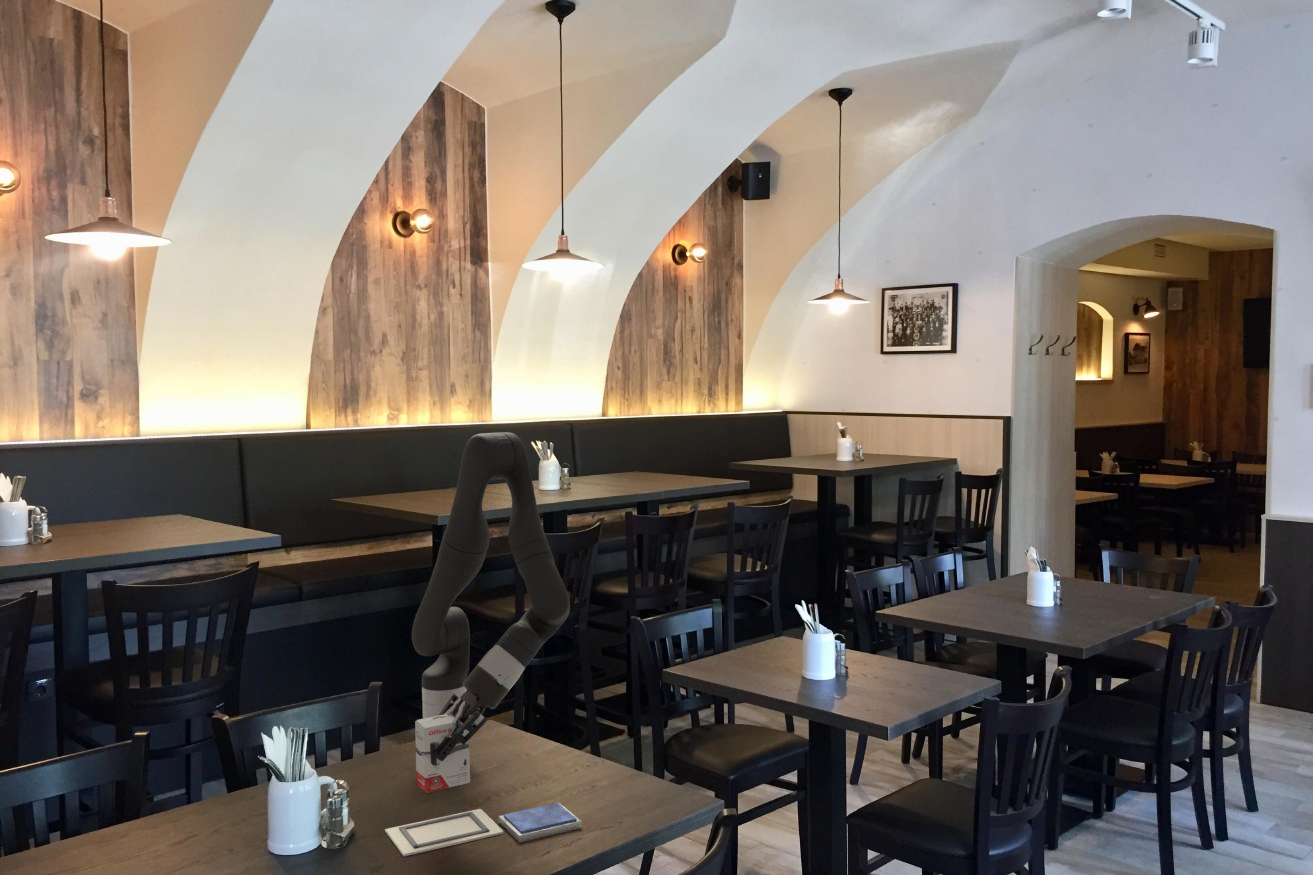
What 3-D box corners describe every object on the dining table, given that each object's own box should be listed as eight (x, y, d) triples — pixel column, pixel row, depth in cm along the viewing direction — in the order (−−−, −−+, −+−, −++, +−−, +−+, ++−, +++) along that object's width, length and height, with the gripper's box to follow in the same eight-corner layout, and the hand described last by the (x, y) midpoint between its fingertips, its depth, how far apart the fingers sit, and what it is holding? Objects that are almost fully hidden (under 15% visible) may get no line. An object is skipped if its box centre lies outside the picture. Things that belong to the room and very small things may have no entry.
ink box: (426, 793, 186) (423, 727, 185) (416, 785, 190) (413, 720, 189) (471, 782, 190) (469, 717, 190) (461, 774, 194) (458, 711, 194)
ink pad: (498, 822, 194) (498, 814, 194) (559, 809, 200) (559, 800, 200) (519, 842, 186) (519, 833, 186) (581, 827, 191) (581, 819, 191)
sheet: (385, 831, 191) (385, 827, 191) (480, 810, 200) (480, 807, 200) (403, 856, 181) (403, 852, 181) (503, 833, 189) (503, 829, 189)
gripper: (466, 656, 199) (405, 730, 194) (493, 672, 186) (428, 753, 181) (494, 679, 202) (435, 754, 196) (522, 697, 189) (460, 777, 184)
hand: (432, 753), depth 189 cm, fingers closed on ink box, 5 cm apart
